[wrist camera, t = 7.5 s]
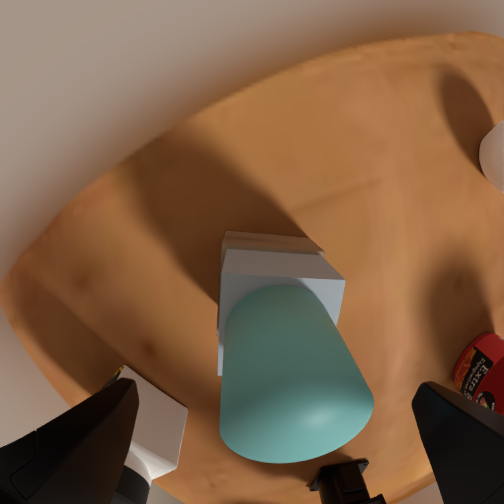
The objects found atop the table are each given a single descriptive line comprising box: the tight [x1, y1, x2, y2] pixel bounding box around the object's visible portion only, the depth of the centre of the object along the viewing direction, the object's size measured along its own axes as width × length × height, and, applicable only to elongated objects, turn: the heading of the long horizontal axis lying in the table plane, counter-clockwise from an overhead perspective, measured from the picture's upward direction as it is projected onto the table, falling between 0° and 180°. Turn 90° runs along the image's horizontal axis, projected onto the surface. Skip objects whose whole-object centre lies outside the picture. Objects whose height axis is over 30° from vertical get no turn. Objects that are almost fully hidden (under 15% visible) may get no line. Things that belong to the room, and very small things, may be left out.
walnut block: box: [216, 231, 325, 336], centre depth 17 cm, size 6×6×4 cm
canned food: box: [453, 333, 504, 415], centre depth 17 cm, size 8×8×11 cm
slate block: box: [218, 249, 346, 376], centre depth 14 cm, size 5×5×4 cm
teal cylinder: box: [219, 285, 374, 463], centre depth 9 cm, size 4×4×5 cm
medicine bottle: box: [101, 365, 188, 504], centre depth 16 cm, size 7×7×12 cm
